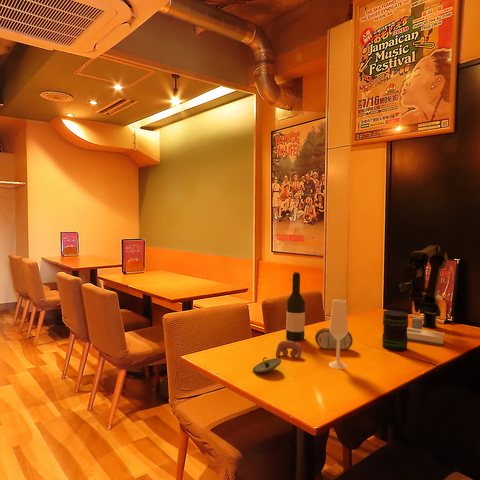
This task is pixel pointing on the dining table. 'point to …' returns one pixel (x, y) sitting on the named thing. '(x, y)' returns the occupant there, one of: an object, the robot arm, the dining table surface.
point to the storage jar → (395, 330)
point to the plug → (417, 323)
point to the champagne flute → (338, 328)
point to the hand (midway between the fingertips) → (417, 310)
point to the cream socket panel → (425, 336)
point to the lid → (267, 365)
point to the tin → (332, 340)
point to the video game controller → (289, 345)
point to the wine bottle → (295, 312)
